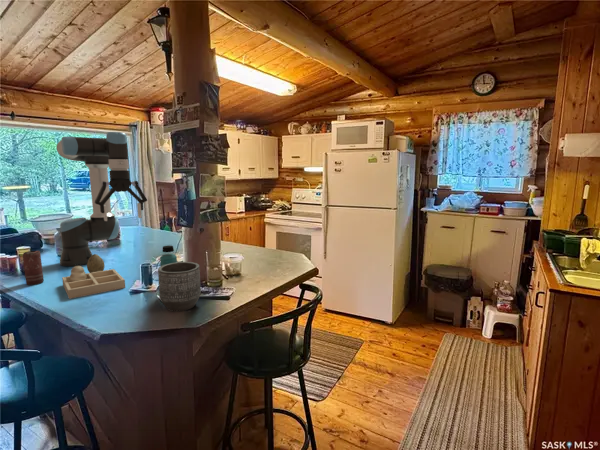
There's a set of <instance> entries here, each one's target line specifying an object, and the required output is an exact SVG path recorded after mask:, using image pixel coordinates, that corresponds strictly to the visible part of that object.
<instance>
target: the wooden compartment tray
mask: <svg viewBox="0 0 600 450" xmlns="http://www.w3.org/2000/svg"><path fill="white" fill-rule="evenodd" d="M85 273H86V272H85ZM86 276H87V277H86V280H80V281H74V282H71V280H70V275H68V276H62V286H63V288H64V291H65V293H66V294H67V297H68V299H69V300H70V299H75V298H81V297H85V296H90V295H95V294H100V293H105V292H110V291H115V290H120V289H125V288H126V279H125V278H123V276H122V275H121V274H119V273H118V271H117V270H116V269H114V268H112V269H111V268H110V269H107V270H106V269H104V270H103V271H99V272H92V273H89V272H87V273H86Z"/></svg>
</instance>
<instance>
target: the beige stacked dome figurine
mask: <svg viewBox="0 0 600 450" xmlns="http://www.w3.org/2000/svg"><path fill="white" fill-rule="evenodd" d="M69 276H70V280H71V282H74V281H80V280H86V277H87V276H86V272H85V269H84V267H83V266H82V265H78V266H72V268H71V269H70V275H69Z"/></svg>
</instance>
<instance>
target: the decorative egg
mask: <svg viewBox="0 0 600 450" xmlns="http://www.w3.org/2000/svg"><path fill="white" fill-rule="evenodd" d="M86 269H87V272H88V273H92V272H99V271H105V261H104V260H103V258H102V256H100V255H98V253H97V254H96V253H94V254H93V253H92V256H91V257H90V258H89V260H88V263H87V264H86Z"/></svg>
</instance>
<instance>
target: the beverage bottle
mask: <svg viewBox="0 0 600 450" xmlns="http://www.w3.org/2000/svg"><path fill="white" fill-rule="evenodd" d="M174 251H175V250H174V245H170V244H169V245H163V246H162V253H164V254H162V255H160V257H159V262H160V267H161V266H163V265H166V264H170V263H175V262H178V259H177V258H178V256H177V255H176V254H175V253H172V252H174Z"/></svg>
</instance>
